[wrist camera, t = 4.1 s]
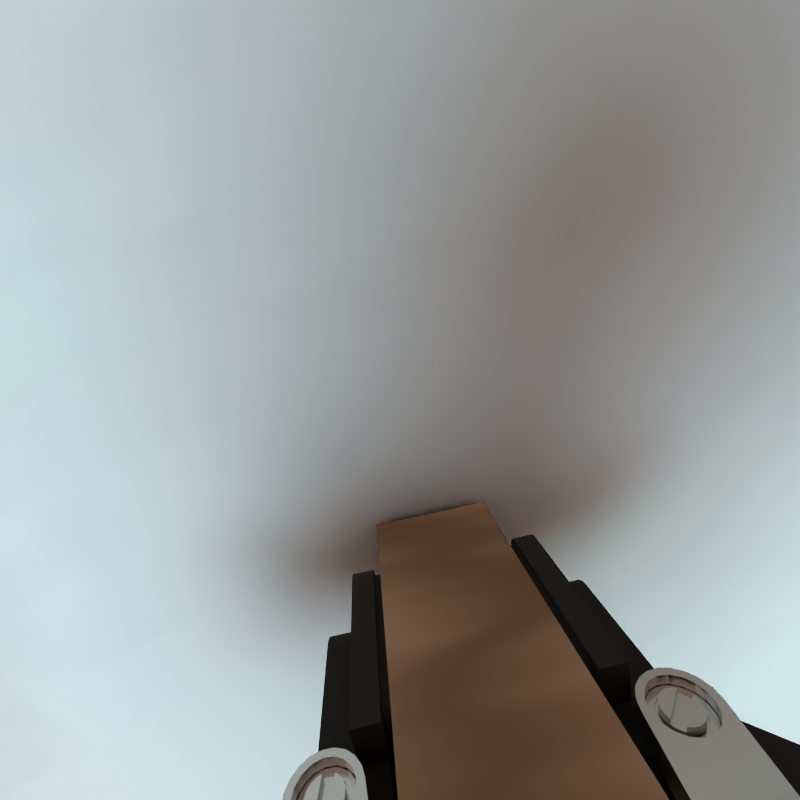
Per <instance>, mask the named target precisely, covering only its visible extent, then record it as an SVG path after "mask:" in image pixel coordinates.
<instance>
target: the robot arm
mask: <svg viewBox="0 0 800 800" xmlns="http://www.w3.org/2000/svg"><path fill="white" fill-rule="evenodd" d="M510 546H511V548H512V549H513V551H514V552H515V554H516V555H517V557H518V559H519V560H520V562H521V563H522V565H523V567H524V568H525V570H526V571H527V573H528V575H529V576H530V578H531V579H532V581H533V583H534V584H535V586H536V587H537V589H538V591H539V592H540V594H541V595H542V597H543V599H544V600H545V602H546V603H547V605H548V607H549V608H550V610H551V611H552V613H553V615H554V616H555V618H556V619H557V621H558V623H559V624H560V626H561V627H562V629H563V631H564V632H565V634H566V635H567V637H568V639H569V640H570V642H571V643H572V645H573V647H574V648H575V650H576V651H577V653H578V655H579V656H580V658H581V659H582V661H583V663H584V664H585V666H586V667H587V669H588V671H589V672H590V674H591V675H592V677H593V678H594V680H595V682H596V683H597V685H598V686H599V688H600V690H601V691H602V693H603V694H604V696H605V698H606V699H607V701H608V702H609V704H610V706H611V707H612V709H613V710H614V712H615V714H616V715H617V717H618V718H619V720H620V722H621V723H622V725H623V726H624V728H625V730H626V731H627V733H628V734H629V736H630V738H631V739H632V741H633V742H634V744H635V746H636V747H637V749H638V750H639V752H640V754H641V755H642V757H643V758H644V760H645V762H646V763H647V765H648V766H649V768H650V770H651V771H652V773H653V774H654V776H655V778H656V779H657V781H658V782H659V784H660V786H661V787H662V789H663V790H664V792H665V794H666V795H667V797H668V798H669V800H800V745H799V744H796V743H794V742H791V741H789V740H786V739H784V738H781V737H779V736H777V735H774V734H772V733H769V732H767V731H764V730H762V729H759V728H757V727H755V726H752V725H750V724H747V723H745V722H742V721H741V720H740V719H739V718H738V716H737V715H736V714H735V713H734V711H733V710H732V709H731V707H730V706H729V705H728V704H727V702H726V701H725V700H724V699H723V698H722V696H721V695H720V694H719V693H718V692H717V691H716V690H715V689H714V688H713V687H711V686H710V685H709V684H707V683H706V682H704V681H703V680H701V679H700V678H698V677H696V676H694V675H692V674H689V673H687V672H685V671H681V670H677V669H673V668H655V669H654V668H653V667H652V666H651V665H650V663H649V662H648V661H647V660H646V658H645V657H644V656H643V655H642V653H641V652H640V651H639V650H638V648H637V647H636V646H635V645H634V643H633V642H632V641H631V640H630V639H629V637H628V636H627V635H626V634H625V632H624V631H623V630H622V629H621V627H620V626H619V625H618V624H617V622H616V621H615V620H614V619H613V617H612V616H611V615H610V614H609V613H608V611H607V610H606V609H605V608H604V606H603V605H602V604H601V603H600V601H599V600H598V599H597V598H596V596H595V595H594V594H593V593H592V591H591V590H590V589H589V588H588V587H587V585H586V584H585V583H584V582H583V581H581V580H575V581H571V582H569V581H568V580H567V579H566V577H565V576H564V575H563V573H562V572H561V571H560V569H559V568H558V567H557V565H556V564H555V563H554V561H553V560H552V559H551V557H550V556H549V555H548V553H547V552H546V551H545V549H544V548H543V547H542V545H541V544H540V543H539V541H538V540H537V539H536V538H535V536H534V535H532V534H531V535H527V536H523V537H518V538H514V539H512V540H511V545H510ZM283 800H398V794H397V781H396V768H395V756H394V743H393V730H392V717H391V705H390V692H389V679H388V666H387V654H386V641H385V628H384V615H383V603H382V590H381V577H380V575H375V572H374V570H370V571H366V572H361V573H357V574H353V578H352V621H351V632H350V633H345V634H341V635H337V636H332V637H330V639H329V642H328V651H327V662H326V673H325V684H324V695H323V706H322V717H321V728H320V739H319V750H318V752H317V753H316V754H314V755H312V756H310V757H309V758H308V759H307V760H306V761H305V762H303V763H302V764H301V765H300V766H299V767H298V769H297V770H296V772H295V773H294V774H293V776H292V777H291V779H290V780H289V783H288V785H287V787H286V790H285V792H284V794H283Z"/></svg>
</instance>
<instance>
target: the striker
mask: <svg viewBox="0 0 800 800" xmlns="http://www.w3.org/2000/svg"><path fill="white" fill-rule="evenodd" d="M376 526H377V539H378V552H379V564H380V577H381V590H382V603H383V615H384V628H385V641H386V654H387V666H388V679H389V692H390V705H391V717H392V730H393V743H394V756H395V768H396V781H397V794H398V800H669V798H668V797H667V795H666V794H665V792H664V790H663V789H662V787H661V786H660V784H659V782H658V781H657V779H656V778H655V776H654V774H653V773H652V771H651V770H650V768H649V766H648V765H647V763H646V762H645V760H644V758H643V757H642V755H641V754H640V752H639V750H638V749H637V747H636V746H635V744H634V742H633V741H632V739H631V738H630V736H629V734H628V733H627V731H626V730H625V728H624V726H623V725H622V723H621V722H620V720H619V718H618V717H617V715H616V714H615V712H614V710H613V709H612V707H611V706H610V704H609V702H608V701H607V699H606V698H605V696H604V694H603V693H602V691H601V690H600V688H599V686H598V685H597V683H596V682H595V680H594V678H593V677H592V675H591V674H590V672H589V671H588V669H587V667H586V666H585V664H584V663H583V661H582V659H581V658H580V656H579V655H578V653H577V651H576V650H575V648H574V647H573V645H572V643H571V642H570V640H569V639H568V637H567V635H566V634H565V632H564V631H563V629H562V627H561V626H560V624H559V623H558V621H557V619H556V618H555V616H554V615H553V613H552V611H551V610H550V608H549V607H548V605H547V603H546V602H545V600H544V599H543V597H542V595H541V594H540V592H539V591H538V589H537V587H536V586H535V584H534V583H533V581H532V579H531V578H530V576H529V575H528V573H527V571H526V570H525V568H524V567H523V565H522V563H521V562H520V560H519V559H518V557H517V555H516V554H515V552H514V551H513V549H512V548H511V546H510V544H509V543H508V541H507V540H506V538H505V536H504V535H503V533H502V532H501V530H500V528H499V527H498V525H497V524H496V522H495V520H494V519H493V517H492V516H491V514H490V512H489V511H488V509H487V508H486V506H485V504H484V503H483V502H480V503H476V504H471V505H466V506H462V507H457V508H453V509H448V510H443V511H439V512H434V513H430V514H425V515H420V516H416V517H411V518H407V519H402V520H397V521H393V522H388V523H384V524H379V525H376Z"/></svg>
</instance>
